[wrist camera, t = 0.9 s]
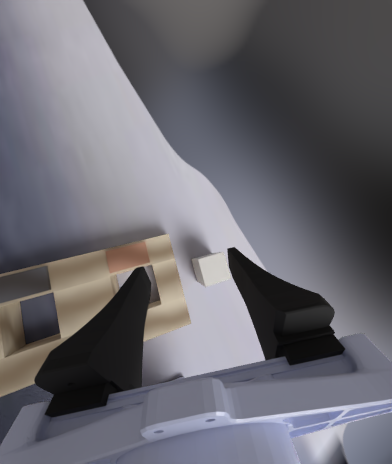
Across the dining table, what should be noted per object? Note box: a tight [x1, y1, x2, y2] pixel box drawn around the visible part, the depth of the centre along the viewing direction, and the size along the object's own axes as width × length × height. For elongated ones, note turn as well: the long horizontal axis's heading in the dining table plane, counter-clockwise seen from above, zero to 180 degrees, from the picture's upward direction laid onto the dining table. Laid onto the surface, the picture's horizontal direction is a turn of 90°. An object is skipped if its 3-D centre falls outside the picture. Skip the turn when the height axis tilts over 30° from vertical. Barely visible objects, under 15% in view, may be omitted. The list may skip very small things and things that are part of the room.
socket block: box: [0, 234, 191, 397], centre depth 23 cm, size 14×26×3 cm, turn 105°
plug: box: [191, 252, 231, 287], centre depth 25 cm, size 4×4×6 cm
